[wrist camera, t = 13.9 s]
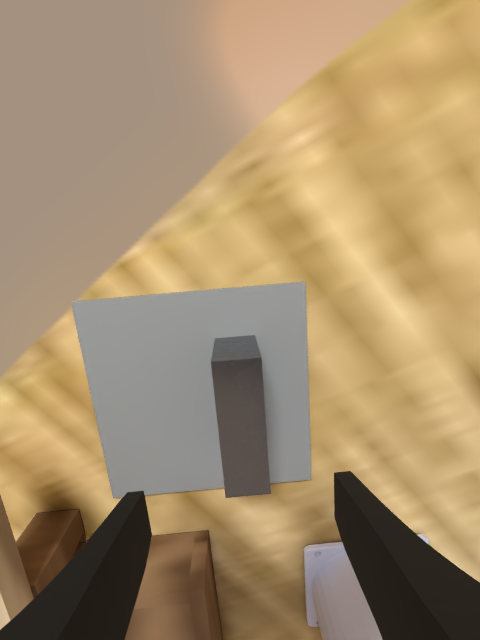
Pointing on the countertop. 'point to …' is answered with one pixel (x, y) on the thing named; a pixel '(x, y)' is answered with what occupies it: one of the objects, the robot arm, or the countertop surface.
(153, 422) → the lid
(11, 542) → the thin wooden plank
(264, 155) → the countertop surface
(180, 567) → the box
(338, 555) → the robot arm
